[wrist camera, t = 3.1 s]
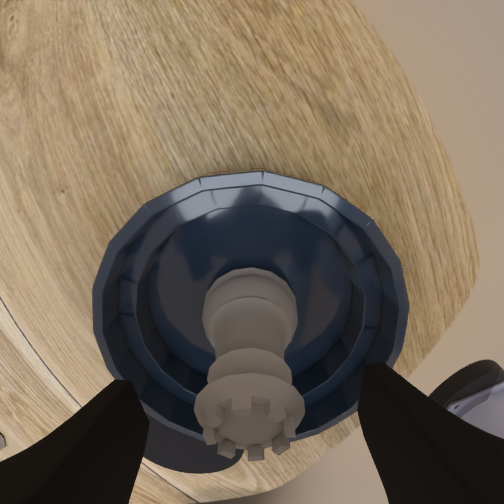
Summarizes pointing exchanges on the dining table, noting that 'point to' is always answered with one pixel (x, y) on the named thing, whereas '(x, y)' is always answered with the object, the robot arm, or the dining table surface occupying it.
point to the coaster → (184, 451)
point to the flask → (2, 443)
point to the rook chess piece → (249, 365)
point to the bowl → (239, 257)
